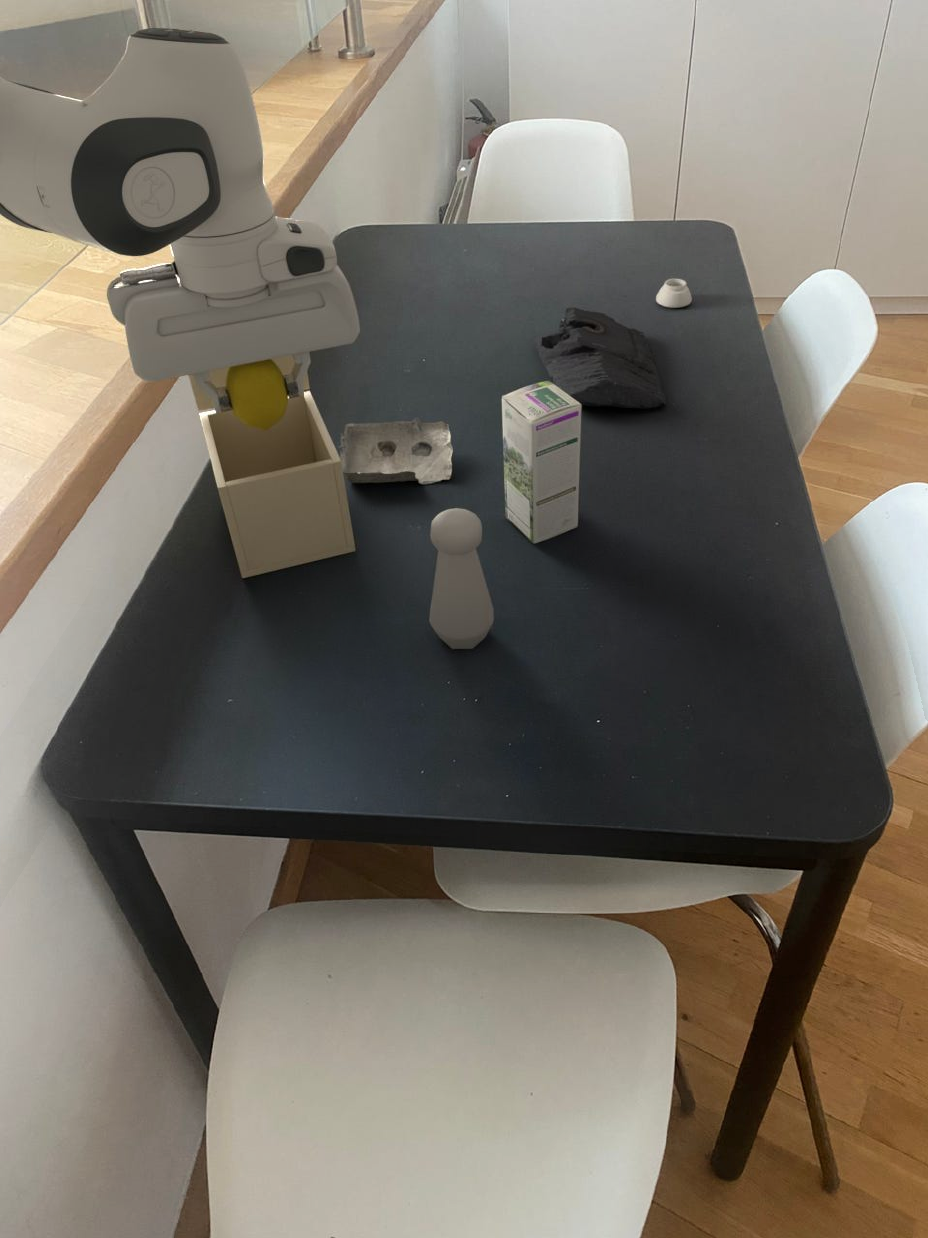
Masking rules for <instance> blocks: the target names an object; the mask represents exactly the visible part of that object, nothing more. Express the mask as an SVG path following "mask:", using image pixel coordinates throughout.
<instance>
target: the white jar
mask: <svg viewBox="0 0 928 1238" xmlns="http://www.w3.org/2000/svg"><path fill="white" fill-rule="evenodd" d="M687 285H688V284H687V281H686V280H685V279H682V278H668V279H666V280H665V281H664V284H663V285H662V286H661V288H660V289H659V291H658V292H657V294H656V295H655V302H656V303H657V304H658V305H660V306H662V307H666V308H670V309H679V308H684V307H686V306H688V305H690V304H691V303H692V302H693V301H692V300H693V297H692V294H691V291H690V289H689V287H688V286H687Z"/></svg>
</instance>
